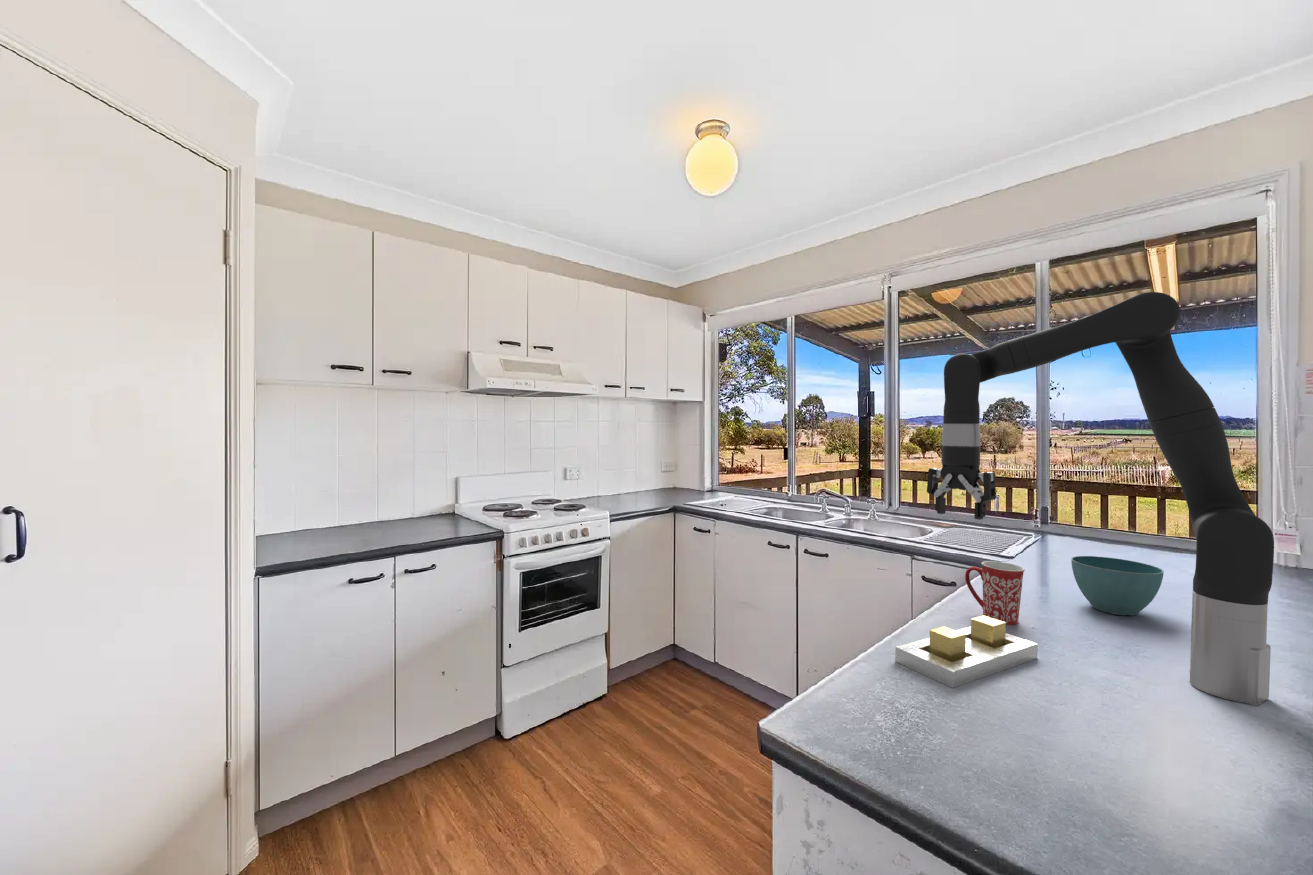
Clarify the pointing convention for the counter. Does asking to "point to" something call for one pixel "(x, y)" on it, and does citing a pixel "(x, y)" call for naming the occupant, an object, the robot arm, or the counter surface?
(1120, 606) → the teal bowl
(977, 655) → the white socket board
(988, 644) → the seated brass block
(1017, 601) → the mug
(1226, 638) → the robot arm
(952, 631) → the brass block
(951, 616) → the counter surface
